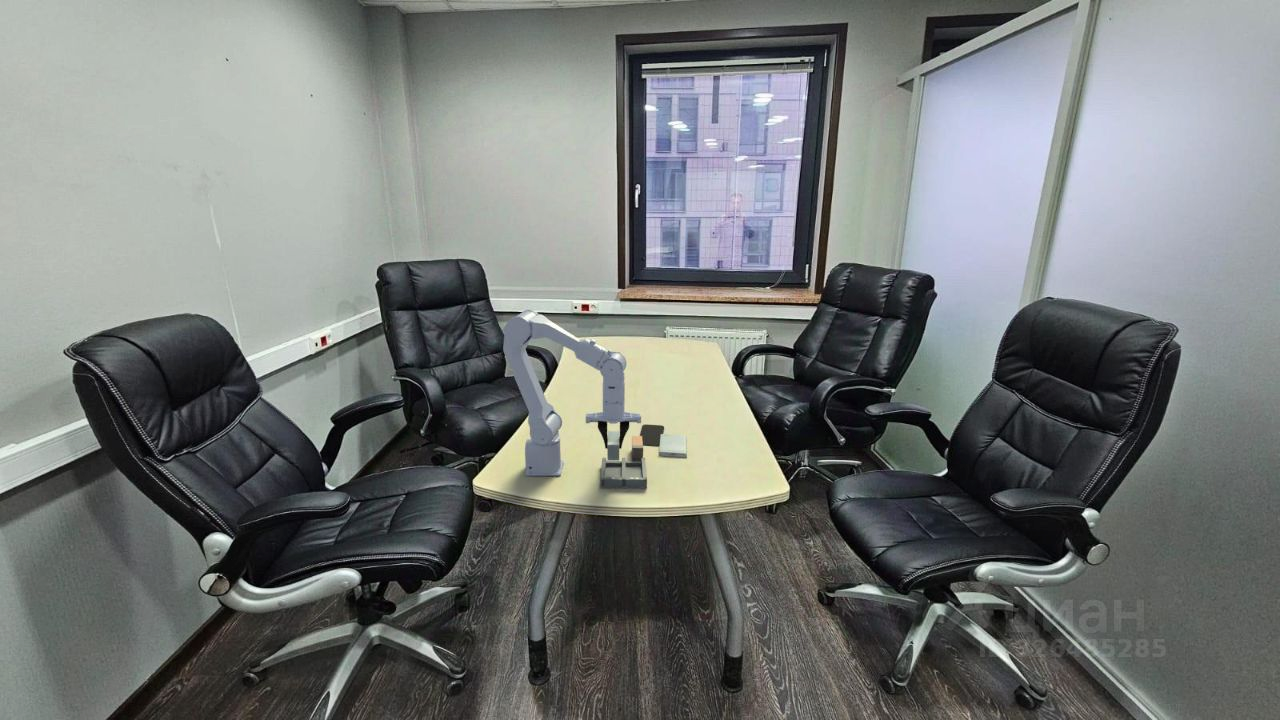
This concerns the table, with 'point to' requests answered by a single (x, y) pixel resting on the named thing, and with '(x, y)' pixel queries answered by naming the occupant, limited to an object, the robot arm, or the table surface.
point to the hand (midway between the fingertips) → (613, 446)
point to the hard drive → (673, 445)
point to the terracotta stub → (637, 448)
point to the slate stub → (613, 445)
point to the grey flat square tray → (623, 474)
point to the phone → (651, 434)
